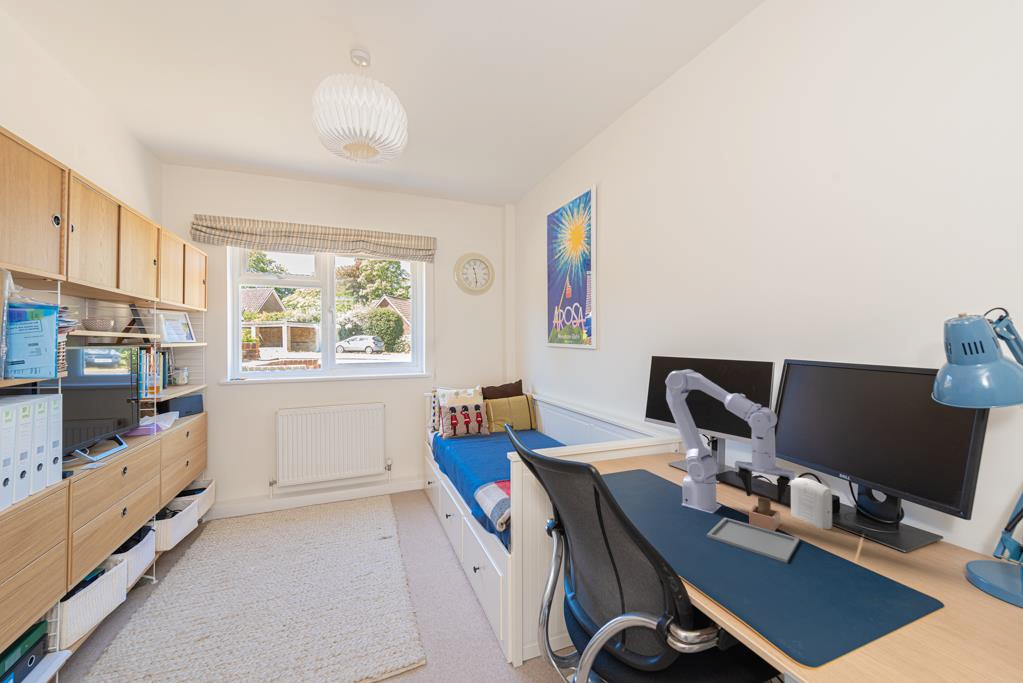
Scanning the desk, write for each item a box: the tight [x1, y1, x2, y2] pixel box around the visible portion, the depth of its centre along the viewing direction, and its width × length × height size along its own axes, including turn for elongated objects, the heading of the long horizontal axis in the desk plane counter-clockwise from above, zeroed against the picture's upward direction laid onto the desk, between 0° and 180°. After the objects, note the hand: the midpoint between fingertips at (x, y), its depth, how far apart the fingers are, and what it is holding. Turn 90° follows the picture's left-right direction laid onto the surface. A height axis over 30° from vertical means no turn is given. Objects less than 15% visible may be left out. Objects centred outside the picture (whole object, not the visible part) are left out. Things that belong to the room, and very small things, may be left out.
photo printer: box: [790, 477, 833, 530], centre depth 114 cm, size 10×4×12 cm, turn 17°
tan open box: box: [748, 504, 781, 532], centre depth 113 cm, size 6×6×4 cm
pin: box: [757, 496, 772, 517], centre depth 113 cm, size 3×3×7 cm
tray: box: [706, 517, 800, 564], centre depth 105 cm, size 18×14×1 cm
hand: (764, 498), depth 113 cm, fingers open, 7 cm apart
